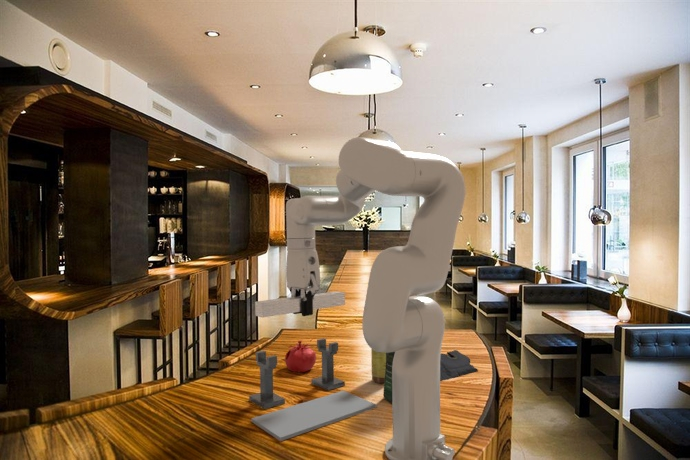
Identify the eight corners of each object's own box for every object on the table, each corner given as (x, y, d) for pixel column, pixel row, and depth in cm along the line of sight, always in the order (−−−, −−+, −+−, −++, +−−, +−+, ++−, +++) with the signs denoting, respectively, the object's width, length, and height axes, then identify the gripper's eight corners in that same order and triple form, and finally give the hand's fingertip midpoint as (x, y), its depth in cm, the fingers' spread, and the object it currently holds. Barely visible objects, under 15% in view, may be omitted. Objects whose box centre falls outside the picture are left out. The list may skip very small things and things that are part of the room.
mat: (376, 407, 118) (376, 404, 118) (280, 441, 101) (280, 437, 101) (343, 393, 128) (343, 390, 128) (251, 421, 111) (251, 418, 111)
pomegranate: (321, 367, 153) (321, 338, 152) (306, 376, 144) (306, 345, 143) (295, 363, 157) (295, 335, 157) (278, 371, 148) (279, 341, 148)
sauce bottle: (391, 385, 135) (391, 315, 134) (370, 383, 136) (369, 315, 135) (394, 377, 141) (393, 311, 141) (373, 376, 142) (372, 311, 142)
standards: (344, 385, 135) (344, 342, 134) (264, 409, 118) (263, 359, 118) (327, 378, 141) (327, 337, 140) (249, 400, 124) (248, 353, 124)
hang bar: (345, 304, 132) (344, 292, 132) (262, 317, 115) (261, 303, 115) (337, 303, 134) (337, 291, 134) (255, 315, 118) (255, 301, 118)
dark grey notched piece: (397, 372, 148) (397, 357, 148) (447, 360, 160) (447, 346, 160) (432, 385, 135) (432, 369, 135) (483, 371, 147) (483, 356, 147)
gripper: (331, 245, 121) (333, 316, 121) (296, 244, 133) (297, 308, 134) (307, 246, 116) (308, 320, 116) (273, 245, 129) (274, 312, 129)
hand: (302, 313), depth 125 cm, fingers closed on hang bar, 3 cm apart
